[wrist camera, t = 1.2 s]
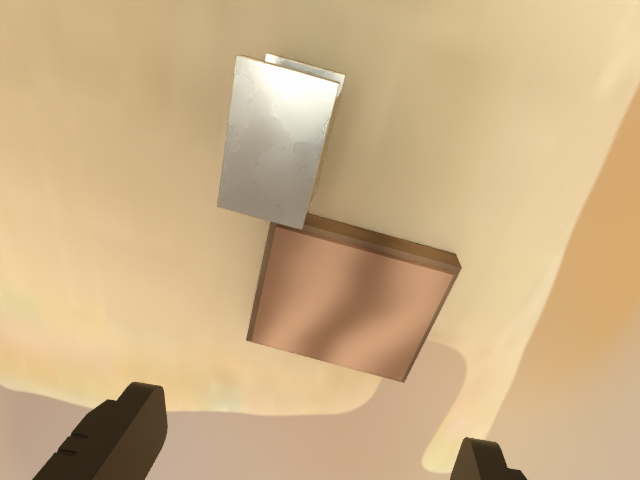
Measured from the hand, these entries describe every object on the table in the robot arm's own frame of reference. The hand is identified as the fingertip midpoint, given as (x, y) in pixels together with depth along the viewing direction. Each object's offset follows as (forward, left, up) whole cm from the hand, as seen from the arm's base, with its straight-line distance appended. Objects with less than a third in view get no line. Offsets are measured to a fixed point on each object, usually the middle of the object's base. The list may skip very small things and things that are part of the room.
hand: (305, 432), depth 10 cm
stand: (+3, -9, -20) cm, 22 cm away
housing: (-4, +3, -20) cm, 21 cm away
